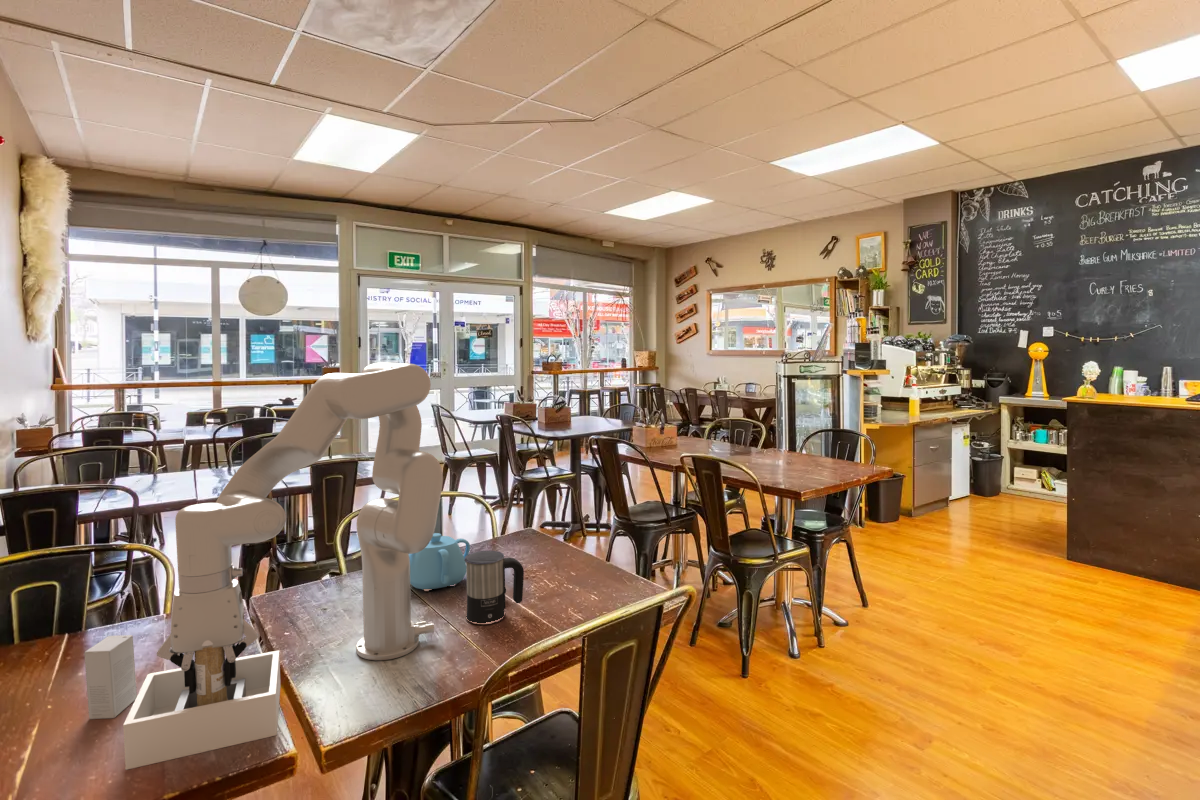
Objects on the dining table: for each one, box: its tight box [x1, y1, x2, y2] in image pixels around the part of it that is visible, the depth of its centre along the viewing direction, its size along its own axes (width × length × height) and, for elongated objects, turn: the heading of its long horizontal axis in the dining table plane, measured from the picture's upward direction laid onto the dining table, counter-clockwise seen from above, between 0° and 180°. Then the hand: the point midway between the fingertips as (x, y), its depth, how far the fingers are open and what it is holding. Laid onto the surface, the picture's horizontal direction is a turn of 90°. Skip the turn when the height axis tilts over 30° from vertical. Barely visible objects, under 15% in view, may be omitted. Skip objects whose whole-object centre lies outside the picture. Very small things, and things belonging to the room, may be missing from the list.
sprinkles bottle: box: [194, 640, 228, 707], centre depth 103 cm, size 5×5×14 cm
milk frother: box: [464, 549, 525, 623], centre depth 149 cm, size 14×16×15 cm
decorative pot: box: [409, 532, 471, 590], centre depth 166 cm, size 16×16×14 cm
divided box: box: [122, 650, 281, 771], centre depth 103 cm, size 20×16×7 cm
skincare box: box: [83, 634, 138, 720], centre depth 107 cm, size 6×4×12 cm
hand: (211, 684), depth 103 cm, fingers closed on sprinkles bottle, 4 cm apart
